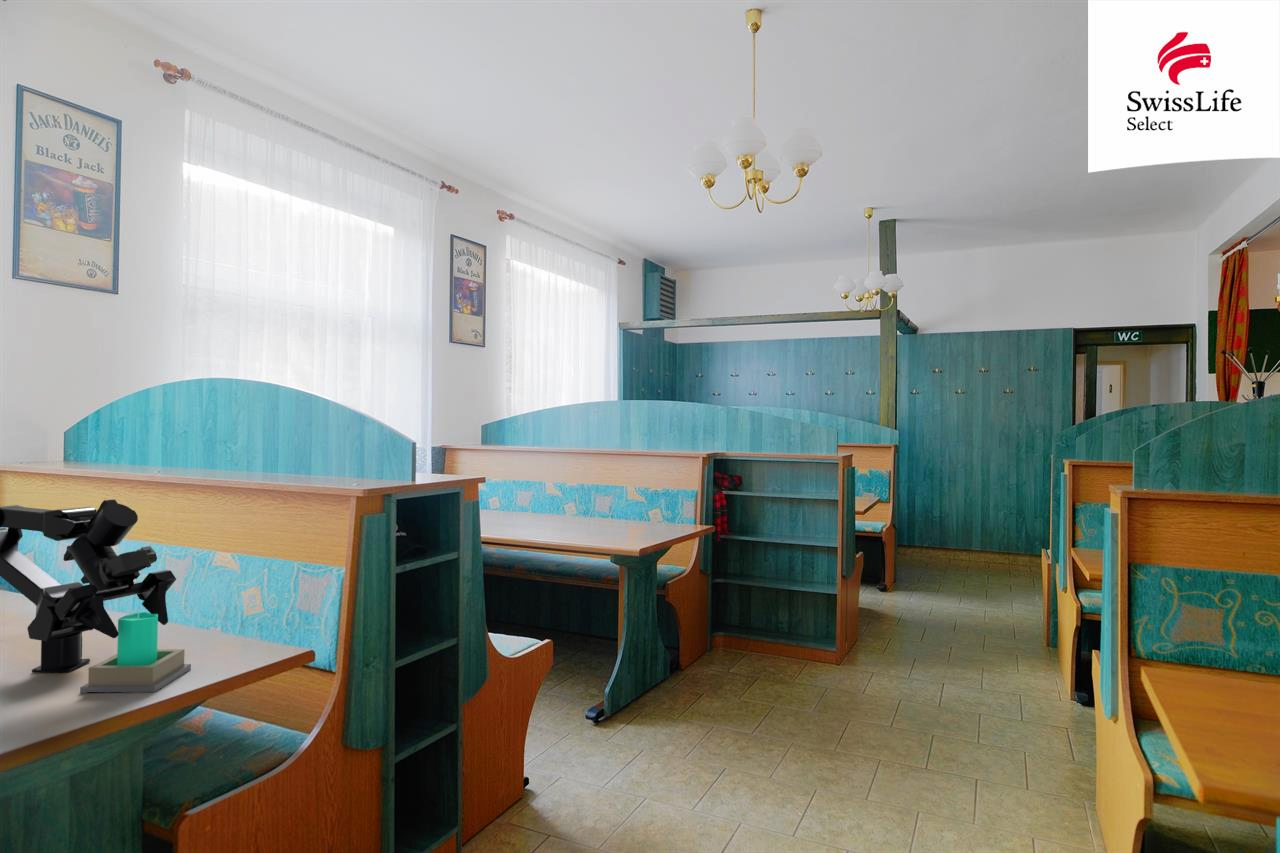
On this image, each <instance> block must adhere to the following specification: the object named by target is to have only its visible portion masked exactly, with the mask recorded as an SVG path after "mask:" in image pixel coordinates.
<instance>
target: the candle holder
mask: <svg viewBox="0 0 1280 853" xmlns="http://www.w3.org/2000/svg"><path fill="white" fill-rule="evenodd" d="M190 670H192V664H191V663H185V648H184V649H177V648H176V649H175V648H173V649H172V648H171V649H157V661H156V662H154V663H153V664H151V665H122V666H117V654H114V655H112V656H110V657H108V658H106V659H104V660H103V661H100V662H98V663H96V664H94V665H92V666H90V667H88V678H87V679H88V683H86V684H84V685H82V686H80V687H79V688H80V691H79V694H88V693H87V692H132V693H155V692H157V691H159V690H160V688H161V689H162V688H164V687H165V686H168V684H170V683H172V682H173V681H175V680H176V679H178V678H179V676H180V677H181V676H183V675H184V674H186V673H188V672H189V671H190ZM185 672H186V673H185ZM182 674H183V675H182ZM174 679H175V680H174ZM171 681H172V682H171ZM163 686H164V687H163Z"/></svg>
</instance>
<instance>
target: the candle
mask: <svg viewBox="0 0 1280 853" xmlns="http://www.w3.org/2000/svg"><path fill="white" fill-rule="evenodd" d="M158 623H159V621H158V614H151V613H150V612H147V611H145V612H140V607H138V608H137V612H136V613H132V614H125V615H123V616H122V617H120V618H118V619H117V631H118V633H119V635H118V636H117V649H116V650H117V651H116V653H117V666H122V665H151V664H153V663H154V662H156V661H157V650H158V635H159V634H158V632H159V630H158V628H159V626H158V625H159V624H158Z"/></svg>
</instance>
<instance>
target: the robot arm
mask: <svg viewBox="0 0 1280 853" xmlns="http://www.w3.org/2000/svg"><path fill="white" fill-rule="evenodd" d="M138 520H139V518H138V513H137V512H136V511H135V510H134V509H132V508H130V507H129V506H127V505H125V504H122V503H119V502H118V501H117V500H116V499H114V498H113V499H104V500H103V501H102V502H101V504H100V506H99V508H98V509H96V508H94V507H93V506H82V507H73V508H72V507H71V508H61V509H59V508H58V509H47V508H36V507H29V506H28V507H25V506H21V505H18V504H17V505H16V504H15V505H6V506H5V505H4V506H2V505H1V506H0V577H1V578H2V579H3V580H4V581H6V582H7V583H8V584H9V585H10V586H12V587H13V588H14V589H15V590H16V591H18V592H19V593H20V594H22V595H23V596H24V597H25V598H27V599H28V600H29V601H30V602H32V603H33V605H34V606H36V610H35V617H34V619H33V620H32V621H31V623H29V625H28V626H27V628H26V629H27V633H28V637H29V639H30V640H34V641H40V643H41V644H40V665H38V666H36V667H35V668H32V669H31V673H68V672H71V671H73V670H75V669H77V668H79V667H81V666H84V665H86V664H87V663H90V662H91V658H83V632H88V631H93V630H95V631H97V632H99V633H101V634H104V635H106V636H108V637H110V638H112V639H116V638H118V635H119V633H118V628H117V627H116V625H115V624H114V622H113V620H112V618H111V617H110V615H109V614H108V612H107V610H106V609H105V607H104V606H105V604H104V602H105V601H111V600H116V599H120V598H126V597H130V596H131V597H132V596H135V595H136V596H137V598H138V599H139V600H141V601H142V603H141V605H142V607H144V608H145V610H147V611H148V613H151V614H158V623H160V624H161V625H163V626H165V625H167V624H168V623H169V616H168V608H167V603H166V600H167V598H166V593H167V592H168V590H169V589H170V588H171V586H172V585H173V584H174V583H175V582H176V580H177V577H176V576H175V574H174V573H173V571H172V570H170V569H165V570H164V569H163V570H159V571H154V572H153V571H152V572H149V573H147V575H146V577H144V579H143V580H142V581H140V582H135V581H134V580H137V579H138V578H139V577H140V576H141V573H140V571H142V570H144V569H146V568H147V569H148V568H150V567H151V566H152V564H154V563H155V562H157V560H158V557H157V553H156V551H155V550H154V548H153V547H152V546H150V545H149V546H148V545H147V546H142V547H140V548H138V549H136V550H133V551H126V552H123V553H120V554H119V555H118V554H116V552H115V551H114V549H113V547H116V546H118V545H119V544H120V543H121V542H122V541H123V540H124V538H126V537H127V535H128V534H129V532H130V531H131V530H132V528H133V527H134V526H135V525H136V523H137V522H138ZM22 530H24V531H25V530H26V531H31V532H32V531H33V532H35V531H36V532H41V533H42V534H43V535H42V536H44V537H45V538H48V539H50V540H53V541H56V542H61V541H68V540H74V541H73V542H72V543H71V544H70V545H67V546H66V551H65V553H64V554H63V561H65V562H68V561H75V563H76V565H77V566H78V568H79V569H80V571H81V573H82V574H83V576H82V577H81V578H80V581H81V582H79V581H75V582H69V583H62V584H60V582H58V581H57V580H55V578H53V577H52V576H51V575H49V574H48V573H47V572H45V571H44V570H43V569H41V568H40V567H39V566H38V565H37V564H36V563H34V562H33V561H32V560H30V559H29V558H27V556H25V555H24V554H23V553H21V552H20V551H19V542H20V540H21V539H22V538H23V536H24V535H23V532H22Z"/></svg>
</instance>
